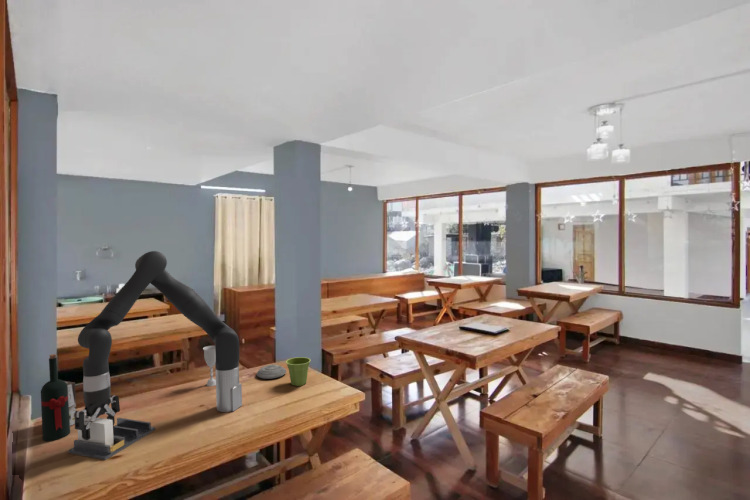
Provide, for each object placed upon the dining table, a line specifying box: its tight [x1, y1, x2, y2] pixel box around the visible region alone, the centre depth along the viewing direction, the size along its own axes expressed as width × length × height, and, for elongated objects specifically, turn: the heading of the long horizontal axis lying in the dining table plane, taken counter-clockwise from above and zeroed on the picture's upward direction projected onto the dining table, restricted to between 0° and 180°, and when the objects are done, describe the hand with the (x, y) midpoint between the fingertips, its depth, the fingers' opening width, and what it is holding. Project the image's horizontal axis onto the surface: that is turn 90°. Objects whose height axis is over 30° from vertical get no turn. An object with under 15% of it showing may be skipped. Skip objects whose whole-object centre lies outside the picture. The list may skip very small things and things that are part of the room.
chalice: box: [202, 345, 216, 387], centre depth 189 cm, size 7×7×18 cm
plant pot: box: [285, 356, 312, 387], centre depth 189 cm, size 12×12×11 cm
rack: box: [68, 417, 156, 461], centre depth 139 cm, size 16×20×4 cm
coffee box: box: [41, 380, 77, 427], centre depth 150 cm, size 9×6×16 cm
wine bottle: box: [40, 353, 71, 442], centre depth 141 cm, size 8×10×30 cm
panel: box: [77, 416, 114, 448], centre depth 133 cm, size 12×3×9 cm, turn 74°
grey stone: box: [255, 364, 287, 380], centre depth 201 cm, size 15×15×6 cm
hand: (99, 432), depth 133 cm, fingers open, 8 cm apart
